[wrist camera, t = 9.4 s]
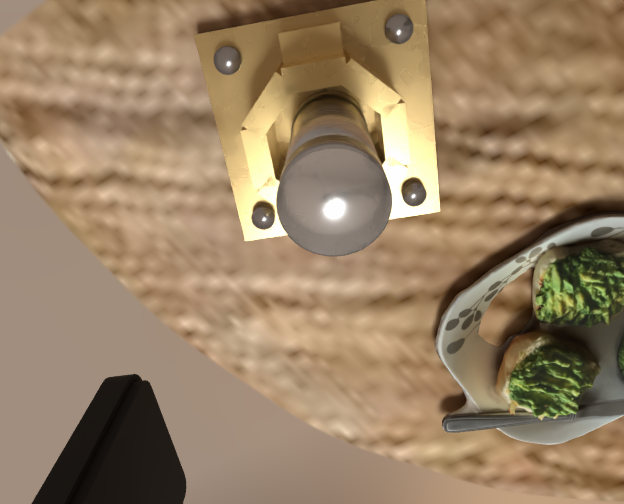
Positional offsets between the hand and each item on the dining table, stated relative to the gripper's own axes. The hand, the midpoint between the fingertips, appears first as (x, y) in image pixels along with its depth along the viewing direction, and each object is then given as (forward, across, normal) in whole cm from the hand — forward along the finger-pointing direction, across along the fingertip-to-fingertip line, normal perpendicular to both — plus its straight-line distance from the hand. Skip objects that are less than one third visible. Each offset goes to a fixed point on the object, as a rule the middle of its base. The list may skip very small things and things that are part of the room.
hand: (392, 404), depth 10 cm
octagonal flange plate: (+22, +1, -1) cm, 23 cm away
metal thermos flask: (+22, +1, -1) cm, 22 cm away
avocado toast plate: (+23, -14, +16) cm, 32 cm away
